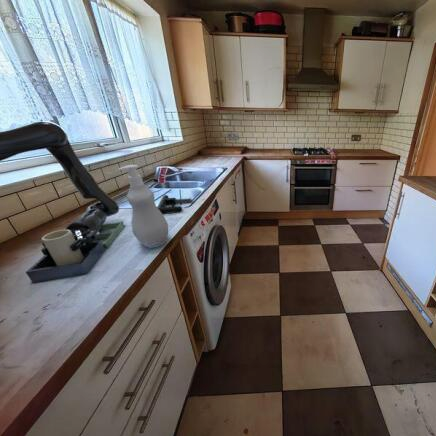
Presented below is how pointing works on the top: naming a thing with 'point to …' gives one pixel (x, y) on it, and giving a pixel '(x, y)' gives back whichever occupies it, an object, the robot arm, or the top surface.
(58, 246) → the cup
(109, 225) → the green divided tray
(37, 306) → the top surface
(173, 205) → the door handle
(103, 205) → the robot arm
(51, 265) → the black tray
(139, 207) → the soap bottle
